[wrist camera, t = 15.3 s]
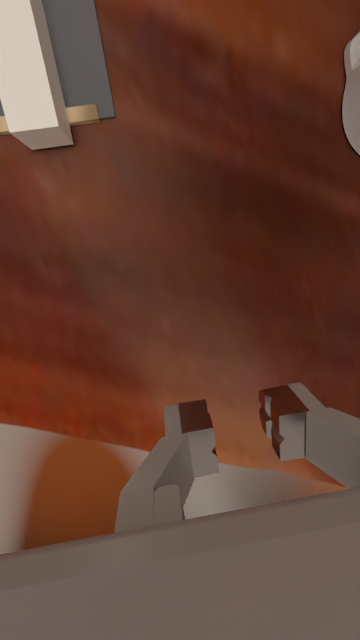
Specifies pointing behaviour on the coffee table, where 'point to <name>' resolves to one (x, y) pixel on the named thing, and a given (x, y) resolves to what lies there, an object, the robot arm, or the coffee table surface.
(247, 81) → the coffee table surface
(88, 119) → the oak stop strip
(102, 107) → the charcoal rubber mat
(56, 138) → the cream block
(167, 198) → the coffee table surface
